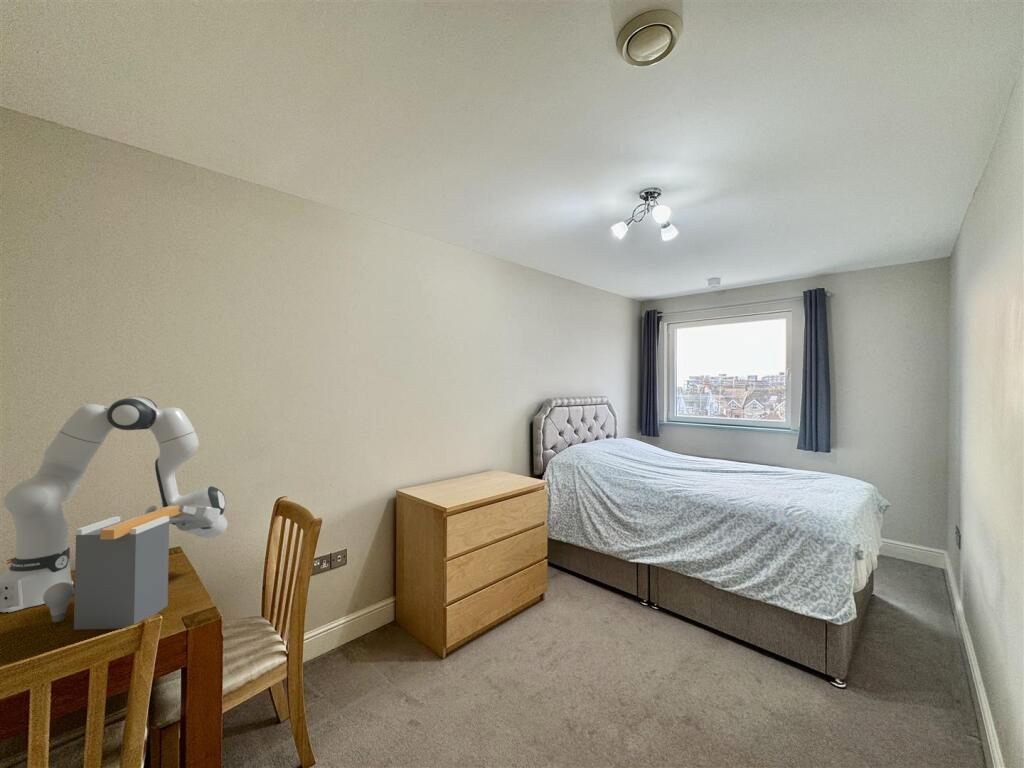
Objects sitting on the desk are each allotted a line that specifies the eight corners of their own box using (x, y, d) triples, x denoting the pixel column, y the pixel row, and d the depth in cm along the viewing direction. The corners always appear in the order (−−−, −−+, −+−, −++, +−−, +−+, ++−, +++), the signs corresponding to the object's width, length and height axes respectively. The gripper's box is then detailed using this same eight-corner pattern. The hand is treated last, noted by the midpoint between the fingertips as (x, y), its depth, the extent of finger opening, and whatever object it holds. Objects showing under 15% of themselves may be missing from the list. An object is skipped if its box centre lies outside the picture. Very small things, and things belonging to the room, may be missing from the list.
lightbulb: (39, 630, 115) (40, 590, 115) (46, 620, 120) (47, 582, 120) (70, 623, 118) (71, 584, 118) (76, 614, 123) (77, 576, 123)
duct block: (73, 629, 115) (76, 529, 116) (113, 607, 127) (115, 516, 128) (133, 628, 116) (136, 528, 116) (167, 606, 128) (169, 516, 128)
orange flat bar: (100, 539, 112) (100, 530, 112) (169, 513, 136) (169, 505, 136) (113, 539, 112) (114, 530, 112) (180, 513, 136) (180, 505, 136)
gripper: (165, 509, 145) (136, 498, 134) (225, 509, 146) (202, 498, 135) (157, 528, 142) (127, 518, 130) (219, 527, 143) (194, 518, 131)
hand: (165, 508), depth 132 cm, fingers open, 8 cm apart
